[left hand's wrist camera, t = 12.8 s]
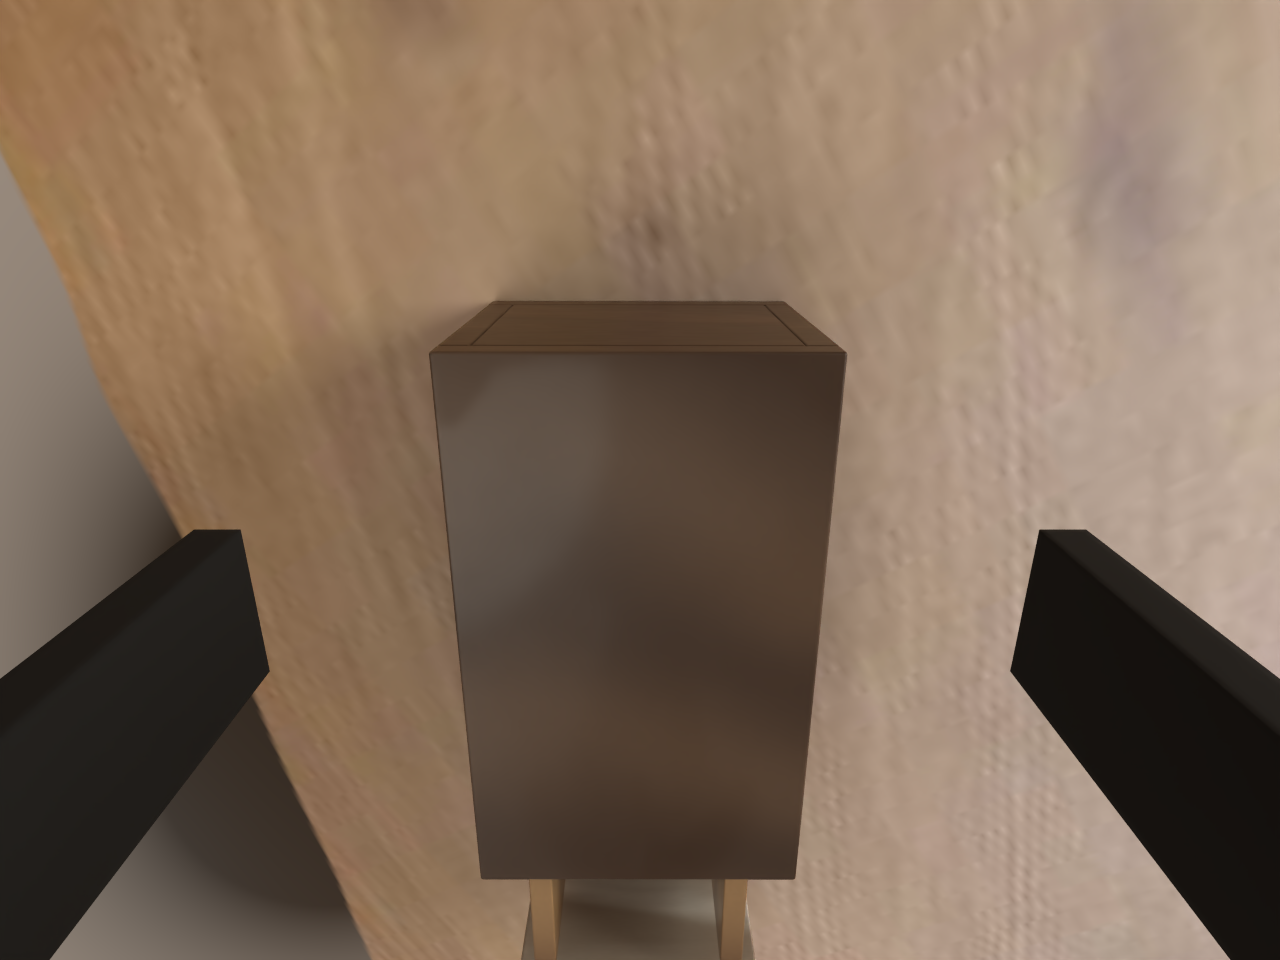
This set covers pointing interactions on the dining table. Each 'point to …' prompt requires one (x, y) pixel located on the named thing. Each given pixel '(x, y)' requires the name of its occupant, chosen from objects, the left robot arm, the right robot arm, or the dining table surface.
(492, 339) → the cabinet
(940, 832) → the dining table surface
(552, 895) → the drawer
